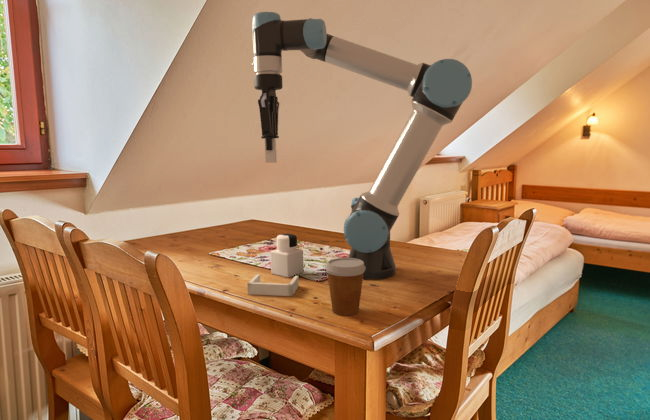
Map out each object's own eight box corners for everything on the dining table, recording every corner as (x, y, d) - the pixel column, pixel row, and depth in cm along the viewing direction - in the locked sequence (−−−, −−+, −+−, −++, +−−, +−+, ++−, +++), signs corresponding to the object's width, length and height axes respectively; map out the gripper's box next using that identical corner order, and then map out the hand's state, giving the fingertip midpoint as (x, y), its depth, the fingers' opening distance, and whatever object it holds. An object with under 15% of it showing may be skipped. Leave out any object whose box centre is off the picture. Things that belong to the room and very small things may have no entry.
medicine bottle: (287, 268, 153) (286, 231, 151) (303, 272, 148) (303, 234, 146) (270, 273, 147) (269, 235, 145) (287, 278, 143) (287, 238, 141)
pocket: (298, 286, 135) (298, 275, 135) (292, 296, 127) (291, 285, 126) (257, 284, 137) (256, 274, 137) (247, 294, 129) (247, 283, 128)
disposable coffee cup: (348, 321, 110) (348, 270, 108) (317, 311, 116) (317, 262, 114) (373, 310, 117) (373, 261, 115) (342, 301, 123) (342, 255, 121)
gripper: (261, 77, 137) (264, 161, 141) (247, 71, 125) (250, 163, 128) (287, 76, 136) (289, 161, 140) (275, 70, 123) (278, 163, 127)
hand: (271, 162), depth 134 cm, fingers closed
